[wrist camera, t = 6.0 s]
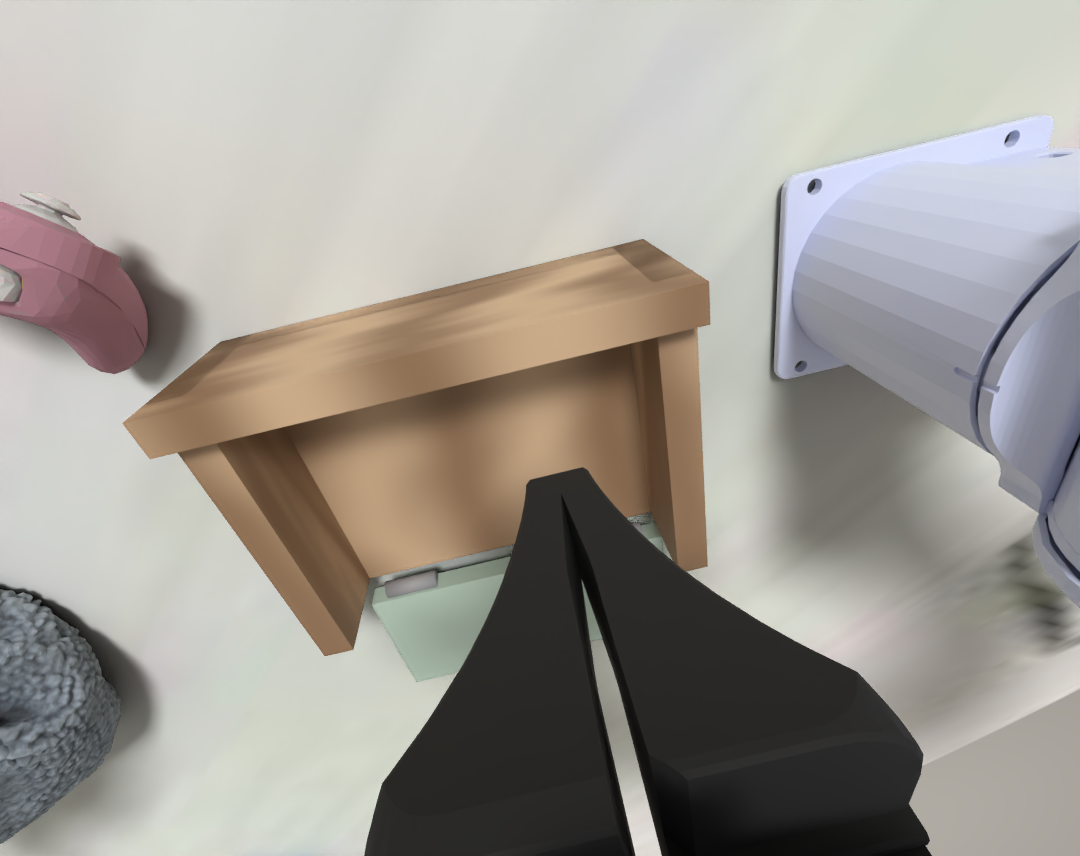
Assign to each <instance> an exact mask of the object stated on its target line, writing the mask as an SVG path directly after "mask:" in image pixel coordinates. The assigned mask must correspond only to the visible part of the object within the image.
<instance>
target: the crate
mask: <svg viewBox="0 0 1080 856" xmlns="http://www.w3.org/2000/svg"><path fill="white" fill-rule="evenodd" d="M706 325H710V299H709V281H707V280H706V279H704V278H703V277H701V276H700V275H698V274H696V273H695V272H693V271H692V270H690V269H689V268H687V267H686V266H684V265H683V264H681V263H679V262H678V261H676V260H675V259H673V258H672V257H670V256H669V255H667V254H665V253H664V252H662V251H661V250H659V249H658V248H656V247H655V246H653V245H651V244H650V243H648V242H647V241H645V240H644V239H642V240H638V241H634V242H630V243H625V244H621V245H617V246H613V247H609V248H605V249H601V250H597V251H592V252H588V253H584V254H580V255H576V256H572V257H568V258H564V259H560V260H555V261H551V262H547V263H543V264H539V265H535V266H531V267H527V268H522V269H518V270H514V271H510V272H506V273H502V274H498V275H494V276H490V277H485V278H481V279H477V280H473V281H469V282H465V283H461V284H457V285H453V286H448V287H444V288H440V289H436V290H432V291H428V292H424V293H420V294H415V295H411V296H407V297H403V298H399V299H395V300H391V301H387V302H383V303H378V304H374V305H370V306H366V307H362V308H358V309H354V310H350V311H345V312H341V313H337V314H333V315H329V316H325V317H321V318H317V319H313V320H308V321H304V322H300V323H296V324H292V325H288V326H284V327H280V328H276V329H271V330H267V331H263V332H259V333H255V334H251V335H247V336H243V337H238V338H234V339H230V340H226V341H222V342H220V343H218V344H217V345H216V346H215V347H214V348H212V349H211V350H210V351H209V352H208V353H206V354H205V355H204V356H203V357H202V358H200V359H199V360H198V361H197V362H196V363H194V364H193V365H192V366H191V367H190V368H188V369H187V370H186V371H185V372H184V373H182V374H181V375H180V376H179V377H177V378H176V379H175V380H174V381H173V382H171V383H170V384H169V385H168V386H167V387H165V388H164V389H163V390H162V391H161V392H159V393H158V394H157V395H156V396H155V397H153V398H152V399H151V400H150V401H149V402H147V403H146V404H145V405H144V406H143V407H141V408H140V409H139V410H138V411H137V412H135V413H134V414H133V415H132V416H131V417H129V418H128V419H127V420H126V421H125V422H123V425H124V426H125V427H126V429H127V430H128V431H129V433H130V434H131V435H132V436H133V438H134V439H135V440H136V442H137V443H138V444H139V446H140V447H141V448H142V450H143V451H144V452H145V453H146V455H147V456H148V457H149V459H153V458H157V457H161V456H165V455H170V454H174V453H178V454H179V455H180V457H181V458H182V459H183V461H184V462H185V464H186V465H187V466H188V468H189V469H190V470H191V472H192V473H193V475H194V476H195V477H196V479H197V480H198V482H199V483H200V484H201V486H202V487H203V488H204V490H205V491H206V493H207V494H208V495H209V497H210V498H211V499H212V501H213V502H214V504H215V505H216V506H217V508H218V509H219V511H220V512H221V513H222V515H223V516H224V517H225V519H226V520H227V522H228V523H229V524H230V526H231V527H232V529H233V530H234V531H235V533H236V534H237V535H238V537H239V538H240V540H241V541H242V542H243V544H244V545H245V546H246V548H247V549H248V551H249V552H250V553H251V555H252V556H253V558H254V559H255V560H256V562H257V563H258V564H259V566H260V567H261V569H262V570H263V571H264V573H265V574H266V576H267V577H268V578H269V580H270V581H271V582H272V584H273V585H274V587H275V588H276V589H277V591H278V592H279V593H280V595H281V596H282V598H283V599H284V600H285V602H286V603H287V605H288V606H289V607H290V609H291V610H292V611H293V613H294V614H295V616H296V617H297V618H298V620H299V621H300V623H301V624H302V625H303V627H304V628H305V629H306V631H307V632H308V634H309V635H310V636H311V638H312V639H313V640H314V642H315V643H316V645H317V646H318V647H319V649H320V650H321V652H322V653H323V654H324V656H328V655H332V654H337V653H341V652H345V651H349V650H353V649H354V645H355V640H356V636H357V632H358V628H359V623H360V619H361V615H362V610H363V606H364V602H365V598H366V593H367V589H368V585H369V580H370V578H374V577H378V576H382V575H386V574H390V573H395V572H399V571H403V570H407V569H412V568H416V567H420V566H424V565H428V564H433V563H437V562H441V561H445V560H450V559H454V558H458V557H462V556H466V555H471V554H475V553H479V552H483V551H488V550H492V549H496V548H500V547H504V546H509V545H513V544H515V541H516V537H517V534H518V530H519V526H520V522H521V518H522V513H523V508H524V502H525V495H526V484H527V483H528V482H529V480H531V479H535V478H539V477H543V476H548V475H552V474H556V473H560V472H564V471H568V470H573V469H577V468H581V467H583V468H585V469H587V470H588V471H589V473H590V474H591V476H592V477H593V479H594V480H595V482H596V483H597V485H598V486H599V487H600V489H601V490H602V491H603V492H604V494H605V495H606V496H607V497H608V498H609V500H610V501H611V502H612V503H613V504H614V505H615V507H616V508H617V509H618V510H619V511H620V512H621V513H622V514H623V515H624V516H625V517H626V518H627V517H631V516H635V515H640V514H644V513H648V512H651V514H652V516H653V519H654V521H655V523H656V525H657V527H658V529H659V532H660V534H661V536H662V538H663V540H664V542H665V545H666V547H667V549H668V551H669V553H670V555H671V558H672V560H673V562H674V563H676V564H677V565H678V566H679V567H681V568H682V569H683V570H685V571H690V570H694V569H698V568H702V567H707V566H708V565H707V542H706V519H705V496H704V473H703V451H702V428H701V405H700V382H699V359H698V337H697V327H701V326H706Z"/></svg>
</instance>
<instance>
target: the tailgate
mask: <svg viewBox="0 0 1080 856" xmlns="http://www.w3.org/2000/svg"><path fill="white" fill-rule="evenodd" d="M631 524H632V525H633V526H634V527H635V528H636V529H637V530H638V531H639V532H640V533H642V534H643V535H644V536H645V537H646V538H647V539H648V540H649V541H650V542H651V543H652V544H653V545H655V546H656V547H657V548H658V549H659V550H660V551H661V552H662V553H663V550H662V541H661V535H660V533H659V531H658V529H657V527H656V525H655V522H654V523H649V524H645V525H640V523H639V522H636V523H631ZM510 558H511V556H510V557H506V558H501V559H497V560H493V561H489V562H484V563H480V564H476V565H472V566H467V567H463V568H459V569H455V570H451V571H446V572H442V573H437V571H436V570H433V571H428V572H424V573H420V574H416V575H411V576H407V577H403V578H399V579H395V580H390V581H386V582H385V586H383V587H379V588H375V590H374V595H373V600H372V604H371V605H372V607H373V609H374V610H375V612H376V614H377V616H378V617H379V619H380V621H381V622H382V624H383V626H384V627H385V629H386V631H387V633H388V634H389V636H390V638H391V639H392V641H393V643H394V645H395V646H396V648H397V650H398V651H399V653H400V655H401V657H402V658H403V660H404V662H405V663H406V665H407V667H408V668H409V670H410V672H411V674H412V675H413V677H414V679H415V680H416V682H419V681H423V680H427V679H432V678H436V677H440V676H445V675H449V674H453V673H457V672H459V670H460V668H461V667H462V665H463V663H464V661H465V660H466V658H467V656H468V654H469V652H470V650H471V648H472V646H473V644H474V642H475V641H476V639H477V637H478V635H479V633H480V631H481V629H482V627H483V625H484V623H485V621H486V618H487V616H488V614H489V612H490V610H491V607H492V605H493V603H494V601H495V598H496V596H497V593H498V591H499V588H500V586H501V583H502V581H503V578H504V575H505V572H506V569H507V566H508V563H509V560H510ZM582 586H583V593H584V600H585V607H586V614H587V621H588V629H589V636H590V641H594V640H598V639H602V636H601V633H600V630H599V627H598V624H597V622H596V619H595V616H594V613H593V610H592V607H591V605H590V602H589V599H588V596H587V593H586V590H585V587H584V585H583V582H582Z"/></svg>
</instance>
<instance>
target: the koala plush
mask: <svg viewBox="0 0 1080 856" xmlns="http://www.w3.org/2000/svg"><path fill="white" fill-rule="evenodd" d="M32 599H33V596H31V595H30V594H26V593H24V592H23V593H20V594H16V593H15V592H14V591H12V590H9V591H7V590H2V589H0V844H1V843H3V842H5V841H6V840H7V839H9V838H11V837H13V835H14V834H15V833H17V832H19V831H20V830H21V829H23V828H24V827H26V826H27V825H28V824H29V823H31V822H33V821H34V820H36V819H38V818H39V817H40V816H41V815H42V814H43V813H45V812H47V811H48V809H49V808H50V807H52V806H53V805H54V804H55V802H57V801H58V800H59V799H61V798H62V797H64V796H65V795H66V793H68V792H70V791H71V790H72V789H73V788H74V787H75V786H76V785H78V783H79V782H81V781H83V780H84V779H85V778H87V777H89V776H90V775H91V774H92V773H93V772H94V771H96V769H97V767H98V766H99V765H101V764H102V763H103V761H104V759H103V757H104V756H105V754H107V753H109V751H110V750H111V744H112V742H113V738H114V735H115V732H116V727H117V722H118V721H119V719H120V710H121V707H120V705H121V704H120V703H121V699H118V698H116V695H117V693H116V692H115V688H114V686H113V685H112V684H110V683H109V682H107V681H105V678H103V677H102V674H101V667H100V666H99V660H98V659H97V658H95V653H93V652H92V647H91V645H89V644H88V643H87V642H86V639H85V638H83V637H79V636H78V634H79V630H78V629H77V628H74V627H72V626H69V625H68V623H67V622H65V621H63V620H61V619H59V618H58V617H57V616H55V615H53V613H52V611H51V609H50V608H48V607H46V606H42V607H40V603H41V600H34V601H31V600H32Z"/></svg>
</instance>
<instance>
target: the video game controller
mask: <svg viewBox="0 0 1080 856" xmlns="http://www.w3.org/2000/svg"><path fill="white" fill-rule="evenodd" d="M20 195H21V196H23V197H25V198H27V199H28V200H30V201H32V202H34V203H36V204H37V205H36V206H32V205H21V204H18V205H9V204H7V203H4V202H0V315H4V316H8V317H12V318H16V319H20V320H24V321H28V322H31V323H34V324H36V325H39V326H42V327H45V328H48V329H49V330H51V331H52V332H54V333H55V334H57V335H59V336H60V337H61V338H62V339H64V340H65V341H66V342H67V343H68V344H69V345H70V346H72V348H73V349H74V350H75V351H76V352H77V353H78V354H79V355H80V356H81V357H82V358H83V359H84V360H85V361H86V363H87V364H88V365H90V366H92V367H93V368H95V369H97V370H99V371H101V372H106V373H112V374H116V373H119V372H122V371H125V370H127V369H129V368H130V367H131V366H132V365H133V364H134V363H136V362H137V361H138V360H139V358H140V357H141V355H142V354H143V352H144V351H145V349H146V345H147V341H148V318H147V313H146V308H145V306H144V303H143V301H142V299H141V296H140V294H139V292H138V290H137V288H136V287H135V285H134V284H133V282H132V281H131V279H130V278H129V276H128V275H127V274H126V273H125V271H124V270H123V269H122V268H121V267H120V266H119V263H120V260H121V257H119V256H117V255H115V254H113V253H111V252H109V251H107V250H104V249H102V248H100V247H97V246H95V245H94V244H93V243H92V242H90V241H89V240H88V239H86V238H85V237H84V236H82V235H81V234H79V233H78V231H77V230H76V228H75V227H73V226H72V225H71V224H70V223H69V222H67V221H66V220H65V219H64V218H63V217H62V215H66V216H68V217H71V218H74V219H77V220H81V218H80V216H79V215H78V214H76V212H75V211H74V210H72V209H71V208H70V207H69V205H68V204H66V203H64V202H61V201H59V200H57V199H55V198H53V197H50V196H48V195H45V194H43V193H37V194H36V193H33V192H28V193H27V192H20Z"/></svg>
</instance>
